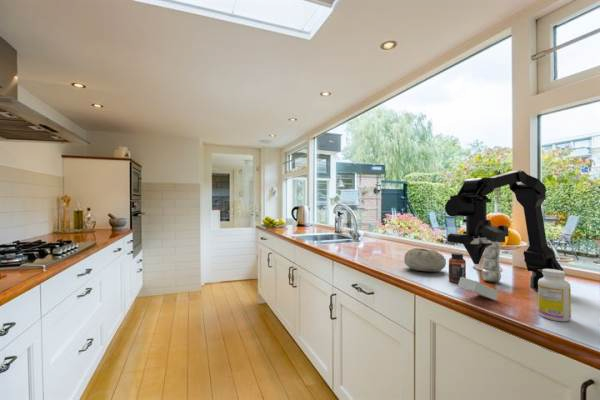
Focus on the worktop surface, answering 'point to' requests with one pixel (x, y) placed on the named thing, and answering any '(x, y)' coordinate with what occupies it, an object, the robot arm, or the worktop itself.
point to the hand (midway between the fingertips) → (476, 264)
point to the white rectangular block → (478, 288)
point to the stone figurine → (491, 262)
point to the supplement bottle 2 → (554, 296)
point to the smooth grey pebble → (424, 260)
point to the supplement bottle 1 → (457, 267)
